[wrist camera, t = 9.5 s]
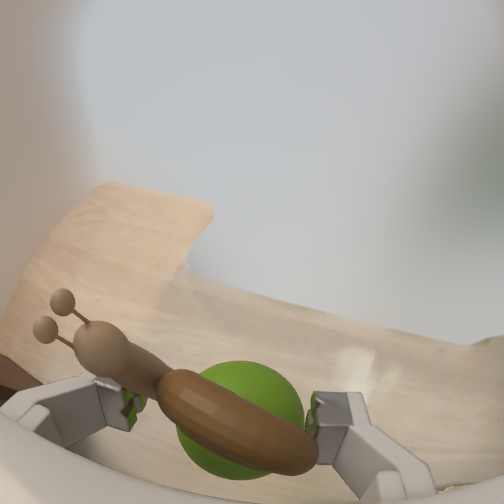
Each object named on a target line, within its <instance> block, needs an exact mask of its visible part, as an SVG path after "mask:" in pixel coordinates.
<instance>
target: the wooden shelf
mask: <svg viewBox="0 0 504 504" xmlns="http://www.w3.org/2000/svg"><path fill="white" fill-rule="evenodd" d="M42 385H44V384H43V383H41V382H40V381H38V380H37V379H36V378H34V377H33V376H32V375H30V374H29V373H27V372H26V371H25V370H24V369H22V368H21V367H20V366H18V365H17V364H16V363H15V362H13V361H12V360H11V359H10V358H8V357H6V356H4V355H2V354H0V407H1V406H2V405H3V404H5V403H6V402H7V401H8V400H9V399H10V398H11V397H12V396H13V395H15V394H16V393H17V392H18V391H22V390H26V389H30V388H34V387H38V386H42Z"/></svg>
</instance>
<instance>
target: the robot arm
mask: <svg viewBox="0 0 504 504" xmlns="http://www.w3.org/2000/svg"><path fill="white" fill-rule="evenodd" d="M147 399H148V397H144V396H141V395H139V394H136V393H134V392H132V391H130V390H128V389H126V388H124V387H123V386H121V385H119V384H118V383H116V382H115V381H113V380H112V379H110V378H103V377H99V376H96V375H94V374H92V373H90V372H89V371H87V370H85V371H84V372H83V373H82V374H81V375H80V376H79V377H75V376H74V377H70V378H67V379H63V380H60V381H56V382H53V383H49V384H45V385H42V386H38V387H34V388H30V389H26V390H22V391H18V392H17V393H16V394H15V395H13V396H12V397H11V398H10V399H9V400H8V401H7V402H6V403H5V404H3V405H2V406H1V407H0V504H260V503H251V502H243V501H235V500H229V499H222V498H217V497H211V496H206V495H201V494H196V493H192V492H187V491H183V490H179V489H175V488H171V487H167V486H163V485H160V484H156V483H153V482H150V481H146V480H143V479H140V478H137V477H134V476H131V475H128V474H125V473H122V472H119V471H117V470H114V469H111V468H109V467H106V466H104V465H101V464H99V463H96V462H94V461H91V460H89V459H87V458H84V457H82V456H80V455H78V454H75V453H73V452H71V451H69V450H67V449H66V447H68V446H70V445H72V444H74V443H76V442H78V441H80V440H82V439H84V438H86V437H88V436H90V435H92V434H93V433H95V432H97V431H99V430H101V429H103V428H105V427H106V425H107V426H110V427H113V428H116V429H119V430H123V431H126V432H130V431H131V429H132V428H133V426H134V424H135V423H136V421H137V415H136V414H137V413H139V412H142V411H143V409H144V408H145V406H146V403H147ZM305 431H306V432H308V433H309V434H311V435H312V436H313V437H314V438H315V440H316V441H317V443H318V446H319V458H318V461H317V463H316V464H318V465H333V466H332V467H333V468H334V469H335V470H336V471H337V473H338V474H339V475H340V476H341V478H342V479H343V480H344V481H345V483H346V484H347V485H348V486H349V487H350V489H351V490H352V491H353V492H354V493H355V495H356V496H357V497H358V498H359V499H360V500H359V502H358V503H357V504H504V474H502V475H499V476H496V477H493V478H490V479H487V480H484V481H481V482H478V483H475V484H472V485H468V486H465V487H461V488H458V489H454V490H450V491H446V492H442V493H438V491H437V488H436V485H435V483H434V480H433V477H432V474H431V472H430V469H429V466H428V464H426V463H425V462H424V461H422V460H421V459H419V458H418V457H417V456H415V455H414V454H413V453H411V452H410V451H409V450H407V449H406V448H405V447H403V446H402V445H401V444H399V443H398V442H397V441H395V440H394V439H393V438H391V437H390V436H389V435H387V434H386V433H385V432H383V431H382V430H381V429H380V428H378V427H377V426H372V425H371V421H370V418H369V415H368V411H367V408H366V405H365V401H364V398H363V395H362V393H361V392H345V393H344V392H322V391H314V392H313V394H312V397H311V409H310V410H308V412H307V416H306V421H305Z"/></svg>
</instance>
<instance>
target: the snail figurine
mask: <svg viewBox="0 0 504 504" xmlns="http://www.w3.org/2000/svg"><path fill="white" fill-rule="evenodd" d="M50 306H51V309H52V310H53V312H54V313H55V314H57V315H59V316H67V315H69V314H71V313H74V314H75V315H76V316H77V317H79V318H80V319H81V320H82V321H83V322H85V324H83V325H82V326H80V327H79V328H78V330H77V331H76V333H75V335H74V340H73V343H71V342H69V341H67V340H65V339H64V338H62V337H60V336H59V335H58V326H57V324H56V322H55V321H54V320H53V319H52V318H51V317H48V316H42V317H40V318H38V319H37V320H36V322H35V323H34V327H33V332H34V336H35V337H36V339H37V340H38V341H40V342H41V343H44V344H49V343H52V342H53V341H54V340H55V339H58V340H60V341H61V342H63V343H65V344H66V345H68V346H69V347H71V348H72V349H73V350H74V352H75V355H76V357H77V359H78V361H79V362H80V364H81V365H82V366H83V367H84V368H85V369H86V370H87V371H89V372H90V373H92V374H94V375H96V376H99V377H103V378H110V379H112V380H113V381H115V382H116V383H118V384H119V385H121V386H123V387H124V388H126V389H128V390H130V391H132V392H134V393H136V394H139V395H141V396H144V397H148V398H151V399H153V400H156V401H157V402H158V404H159V406H160V408H161V410H162V411H163V413H164V414H165V415H166V416H167V417H168V418H169V419H170V420H171V421H172V422H173V423H175V424H176V429H177V434H178V437H179V440H180V442H181V445H182V447H183V448H184V450H185V452H186V453H187V454H188V456H189V457H190V458H191V459H192V460H193V461H194V462H195V463H196V464H197V465H198V466H200V467H201V468H202V469H204V470H206V471H207V472H209V473H211V474H213V475H216V476H218V477H222V478H225V479H231V480H251V479H256V478H260V477H263V476H266V475H268V474H270V473H277V474H281V475H287V476H296V475H301V474H304V473H306V472H307V471H309V470H310V469H312V468H313V467H314V465H315V464H316V463H317V461H318V458H319V446H318V443H317V441H316V440H315V438H314V437H313V436H312V435H311V434H309V433H308V432H306V431H305V430H304V411H303V407H302V403H301V400H300V398H299V396H298V394H297V392H296V391H295V389H294V388H293V386H292V385H291V384H290V383H289V382H288V381H287V380H286V379H285V378H284V377H283V376H282V375H281V374H279V373H278V372H276V371H275V370H273V369H271V368H269V367H267V366H264V365H262V364H258V363H254V362H249V361H230V362H224V363H221V364H217V365H215V366H212V367H210V368H208V369H206V370H204V371H203V372H201V373H200V374H197V373H195V372H193V371H190V370H186V369H179V370H173V369H172V368H170V367H169V366H167V365H166V364H165V363H164V362H163V361H161V360H160V359H159V358H157V357H156V356H155V355H153V354H152V353H150V352H148V351H147V350H145V349H143V348H141V347H139V346H138V345H135V344H133V343H131V342H129V341H128V339H127V338H126V336H125V335H124V334H123V333H122V332H121V331H120V330H119V329H118V328H117V327H115V326H114V325H112V324H110V323H107V322H104V321H89V320H88V319H86V318H85V317H83V316H82V315H81V314H80V313H78V312H77V311H76V310H75V309H74V308H75V298H74V296H73V294H72V293H71V292H70V291H69V290H67V289H64V288H62V289H58V290H56V291H55V292H54V293H53V294H52V296H51V299H50Z"/></svg>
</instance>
